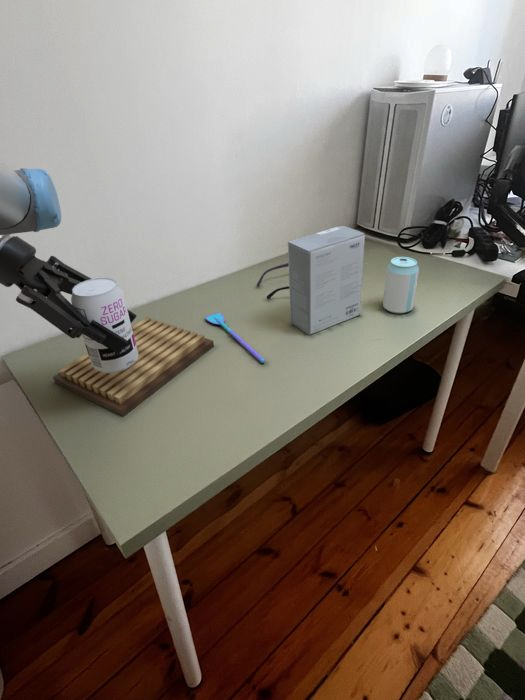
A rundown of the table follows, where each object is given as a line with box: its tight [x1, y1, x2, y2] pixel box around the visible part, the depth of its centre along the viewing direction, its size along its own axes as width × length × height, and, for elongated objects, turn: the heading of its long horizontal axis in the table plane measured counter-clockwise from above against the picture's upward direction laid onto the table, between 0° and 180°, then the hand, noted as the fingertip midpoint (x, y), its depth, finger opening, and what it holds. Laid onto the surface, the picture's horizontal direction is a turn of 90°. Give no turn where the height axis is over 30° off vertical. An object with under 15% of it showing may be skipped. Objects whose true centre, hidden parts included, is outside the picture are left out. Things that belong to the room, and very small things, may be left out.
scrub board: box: [52, 316, 215, 417], centre depth 90 cm, size 26×20×3 cm
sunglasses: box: [256, 262, 289, 300], centre depth 116 cm, size 14×16×5 cm
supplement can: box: [70, 277, 138, 373], centre depth 75 cm, size 8×8×15 cm
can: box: [382, 256, 420, 315], centre depth 101 cm, size 7×7×12 cm
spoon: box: [205, 312, 266, 364], centre depth 97 cm, size 25×4×1 cm, turn 35°
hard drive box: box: [287, 225, 366, 336], centre depth 97 cm, size 16×8×20 cm, turn 123°
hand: (127, 333), depth 76 cm, fingers closed on supplement can, 8 cm apart
